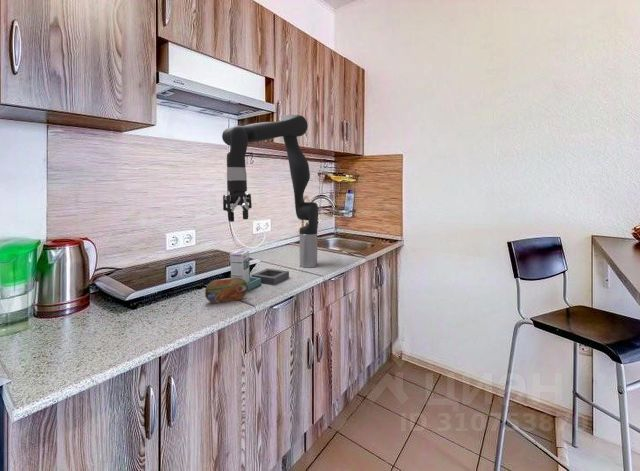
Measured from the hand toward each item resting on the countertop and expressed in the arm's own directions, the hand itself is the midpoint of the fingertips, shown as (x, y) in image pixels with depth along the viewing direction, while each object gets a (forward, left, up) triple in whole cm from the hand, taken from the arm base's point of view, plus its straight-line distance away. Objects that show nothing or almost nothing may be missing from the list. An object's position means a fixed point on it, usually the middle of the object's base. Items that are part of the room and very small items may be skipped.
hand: (238, 220), depth 125 cm
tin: (+14, +5, -28) cm, 32 cm away
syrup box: (0, 0, -28) cm, 28 cm away
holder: (-14, +5, -28) cm, 32 cm away
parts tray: (0, 0, -28) cm, 28 cm away
